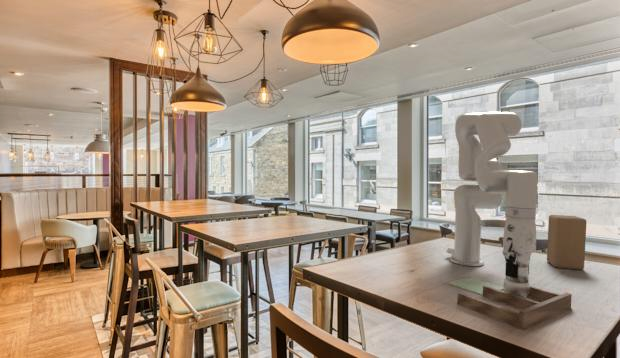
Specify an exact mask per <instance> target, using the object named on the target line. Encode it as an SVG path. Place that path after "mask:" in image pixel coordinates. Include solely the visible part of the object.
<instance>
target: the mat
mask: <svg viewBox="0 0 620 358" xmlns="http://www.w3.org/2000/svg"><path fill="white" fill-rule="evenodd" d="M447 284H448V285H451V286H453V287H458V288H460V289H463V290H465V291H469V292H471V293H475V294H476V295H477V294H478V295H481V296H483V286H489V287H492V288H495V289H498V290H501V291H504V288H503V286H499V285H498V284H497V285H496V284H493V283H490V282H487V281H484V280H480V279H477V278H474V277H471V276H470V277H466V278H461V279H458V280H457V279H456V280H454V281H450V282H447Z"/></svg>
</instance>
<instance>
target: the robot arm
mask: <svg viewBox="0 0 620 358" xmlns="http://www.w3.org/2000/svg"><path fill="white" fill-rule="evenodd" d="M521 130H522V119H521V117H520V116H519V114H517V113H515V112H511V111H510V112H509V111H502V112H501V111H488V112H467V113H463V114H460V115H459V116H458V117H457V118H456V121H455V126H454V131H455V132H454V133H455V137H456V140H457V143H458V144H457V146H458V176H459V177H458V178H459V179H460V180H462V181H465V182H477V184H461V185H459V186H457V187H456V188H455V189H454V191H453V200H454V210H455V224H454V225H455V226H454V248H451V247H448V248H447V249H446V253H447V254H450V255H451V256H449V261H450V262H452V263H454V264H457V265H461V266H467V267H481V266H484V264H485V261H484V260H483V259H481V257H480V255H481V238H482V237H481V236H482V219H481V217H480V214H478V212H477V211H476V210H477V209H480V210H481V209H482V210H483V209H484V210H485V209H486V210H495V209H497V208H499V207H500V206H501V204H502V201H503V195H505V211H504V218H505V221H504V229H503V237H502V238H503V239H502V247H503V248H502V255H503V257H504V259H505V260H504V262H505V274H504V275H505V277H506V276H509V277H512V278H518V264H517V261H518V254H519V255H524V254H527V253H526V249H527V247H528V245H529V244H530V245H531V247H532V252H531V254H532V253H535V252H536V250H537V226H536V218H537V216H536V214H537V197H538V196H537V195H538V174H537V173H536V172H535V171H532V170H520V169H503V167H502V163H501V162H500V160H498V158H500V157H502V156H505V154H507V153H508V152H509V151H510V149H511V147H512V143H511V140H510V138H509V137H515V136H517V135H518V134H519V133H520V131H521ZM476 136H478V138H477V137H476ZM511 249H514V251H515V253H514V252H510V251H511ZM510 254H512V255H515V256H514V258H513V256H512V255H510ZM530 261H531V259H530V260H529V262H530ZM529 274H530V265H529V266H528V276H529Z"/></svg>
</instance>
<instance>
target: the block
mask: <svg viewBox="0 0 620 358" xmlns="http://www.w3.org/2000/svg"><path fill="white" fill-rule="evenodd" d="M547 227H548V229H547V250H546V251H547V252H546V261H547V262H548V263H549V264H551V265H552V266H553V267H554V268H556V267H557V268H559V269H566V268H567V269H568V270H576V269H577V270H576V271H582V270H584V269H585V260H586V259H585V257H586V240H587V239H586V238H587V237H586V235H587V220H586V219H585V218H583V217H579V216H575V215H562V214H551V215H549V216H548V225H547ZM557 268H556V269H557Z"/></svg>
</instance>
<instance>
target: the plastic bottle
mask: <svg viewBox="0 0 620 358" xmlns="http://www.w3.org/2000/svg"><path fill="white" fill-rule="evenodd" d="M510 252H514V253H515V251H514V249H511V251H510ZM531 252H532V247H531V245H530V244H529V245H528V247H527V249H526V253H527V254H524V255H519V254H518V261H517V264H518V278H512V277H509V276H506V275H505V279H504V281H503V285H502V287H503V288H504V290H503V291H504V292H508V293H511V294H514V295H517V296H520V297H523V298H528V295H529V292H530V286H531V285H530V282H529V275H528V266H529V267H530V261H531V255H532V253H533V252H532V253H531ZM510 255H512V254H510ZM512 256H513V258H514V256H515V255H512ZM529 260H530V261H529Z"/></svg>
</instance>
